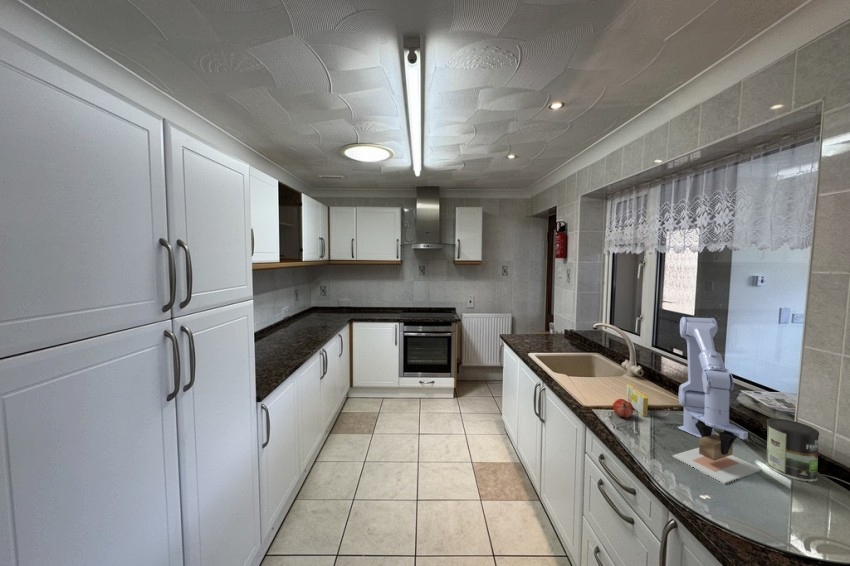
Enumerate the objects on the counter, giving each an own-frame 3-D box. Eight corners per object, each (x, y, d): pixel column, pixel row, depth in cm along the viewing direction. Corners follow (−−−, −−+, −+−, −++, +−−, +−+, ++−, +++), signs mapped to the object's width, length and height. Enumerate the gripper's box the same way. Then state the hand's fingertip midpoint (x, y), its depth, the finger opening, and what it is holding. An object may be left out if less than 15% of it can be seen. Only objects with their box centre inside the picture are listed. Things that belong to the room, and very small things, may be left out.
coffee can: (823, 476, 93) (825, 429, 92) (809, 486, 88) (810, 438, 88) (774, 457, 102) (775, 415, 101) (759, 465, 98) (760, 422, 97)
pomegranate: (610, 416, 136) (612, 410, 129) (612, 400, 139) (614, 393, 132) (631, 422, 132) (633, 417, 125) (632, 406, 135) (635, 399, 128)
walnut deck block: (699, 453, 100) (699, 438, 99) (717, 447, 102) (717, 432, 102) (714, 460, 96) (714, 444, 96) (732, 454, 99) (732, 439, 98)
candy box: (648, 417, 131) (648, 398, 130) (642, 417, 131) (642, 397, 131) (630, 401, 147) (631, 384, 146) (625, 401, 147) (626, 383, 147)
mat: (708, 446, 109) (708, 444, 109) (761, 470, 96) (761, 468, 96) (672, 457, 103) (672, 455, 103) (724, 484, 90) (724, 482, 90)
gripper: (682, 401, 104) (682, 440, 105) (737, 420, 90) (736, 465, 91) (696, 397, 106) (696, 436, 107) (752, 416, 93) (751, 460, 93)
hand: (715, 449), depth 99 cm, fingers closed on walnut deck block, 4 cm apart
